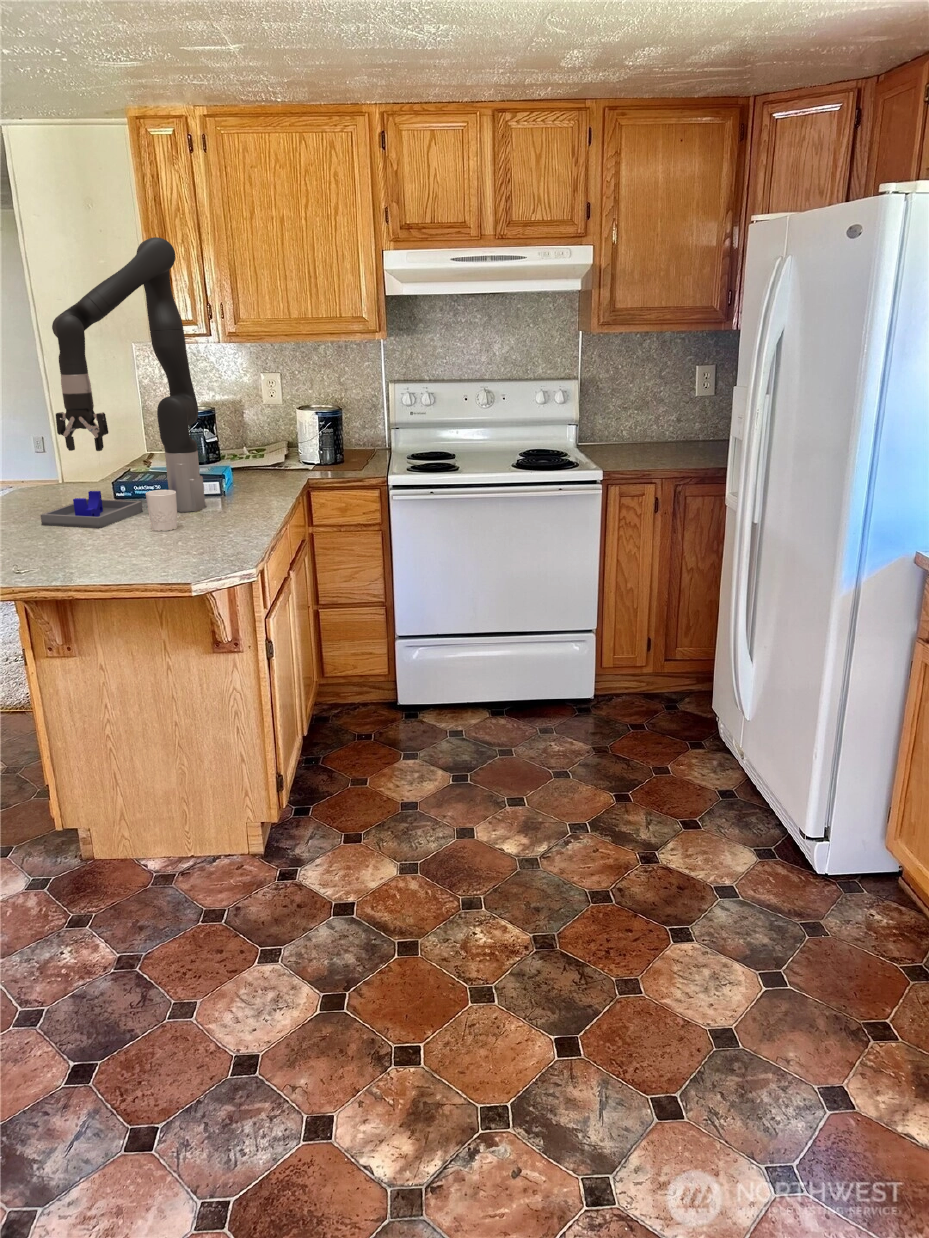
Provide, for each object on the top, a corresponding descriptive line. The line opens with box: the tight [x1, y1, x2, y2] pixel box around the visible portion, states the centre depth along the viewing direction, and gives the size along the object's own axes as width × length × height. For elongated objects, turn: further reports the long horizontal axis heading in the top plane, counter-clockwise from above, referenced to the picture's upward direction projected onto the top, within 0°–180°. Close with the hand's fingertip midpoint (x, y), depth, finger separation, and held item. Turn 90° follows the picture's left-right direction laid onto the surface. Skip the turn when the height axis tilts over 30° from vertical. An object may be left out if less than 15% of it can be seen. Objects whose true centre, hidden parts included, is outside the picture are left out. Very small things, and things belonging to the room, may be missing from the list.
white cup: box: [145, 489, 178, 532], centre depth 251 cm, size 8×8×10 cm
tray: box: [40, 498, 144, 529], centre depth 264 cm, size 18×22×3 cm
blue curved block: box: [72, 490, 103, 517], centre depth 263 cm, size 12×4×6 cm, turn 179°
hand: (85, 450), depth 258 cm, fingers open, 8 cm apart
